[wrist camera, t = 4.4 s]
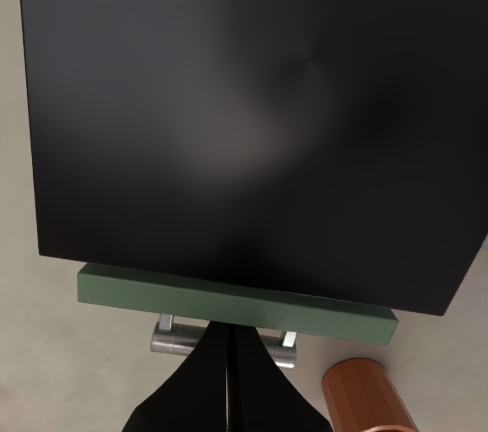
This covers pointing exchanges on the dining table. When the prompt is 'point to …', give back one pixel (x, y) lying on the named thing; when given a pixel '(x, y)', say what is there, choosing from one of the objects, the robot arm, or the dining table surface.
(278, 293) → the green drawer
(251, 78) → the drawer cabinet
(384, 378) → the cup
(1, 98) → the dining table surface
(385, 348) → the dining table surface
